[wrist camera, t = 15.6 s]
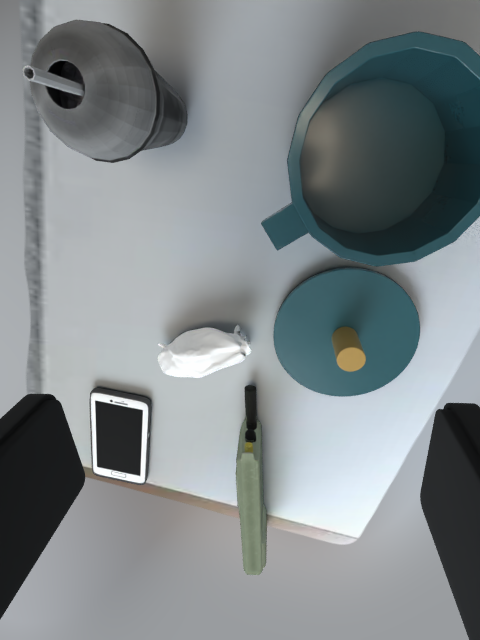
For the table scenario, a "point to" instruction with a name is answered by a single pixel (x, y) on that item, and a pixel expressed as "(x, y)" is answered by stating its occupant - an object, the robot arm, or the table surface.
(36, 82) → the beverage cup
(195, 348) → the white tied bag
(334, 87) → the teal cooking pot
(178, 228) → the table surface
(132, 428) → the cell phone
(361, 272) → the lid
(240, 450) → the handheld radio
